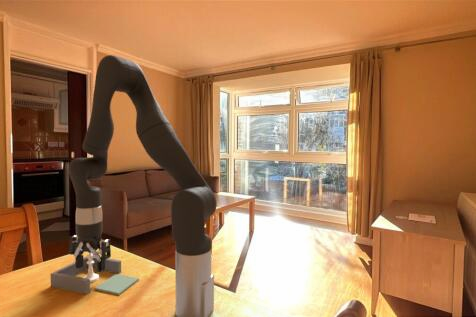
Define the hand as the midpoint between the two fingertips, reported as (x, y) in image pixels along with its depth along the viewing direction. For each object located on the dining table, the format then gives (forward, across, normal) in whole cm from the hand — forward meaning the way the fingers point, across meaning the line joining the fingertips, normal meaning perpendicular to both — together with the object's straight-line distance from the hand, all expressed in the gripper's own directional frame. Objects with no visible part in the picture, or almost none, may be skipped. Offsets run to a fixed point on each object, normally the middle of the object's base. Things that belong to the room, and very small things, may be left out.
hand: (90, 269), depth 88 cm
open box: (+3, 0, 0) cm, 3 cm away
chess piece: (+4, 0, 0) cm, 4 cm away
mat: (+3, -11, 0) cm, 11 cm away
